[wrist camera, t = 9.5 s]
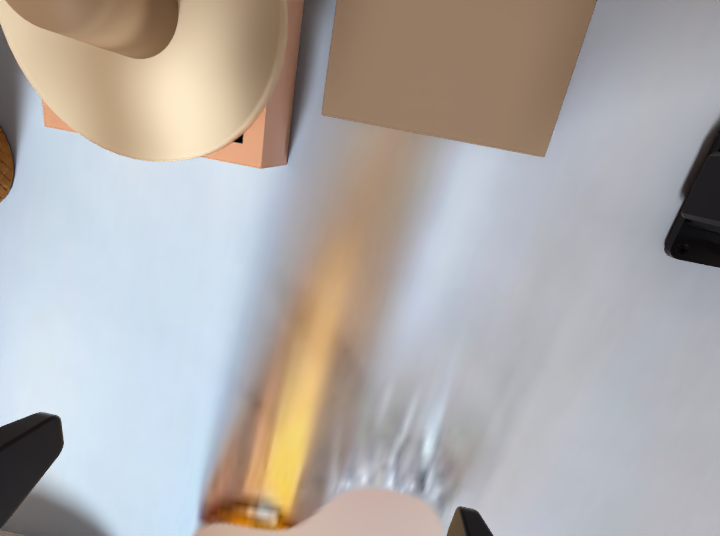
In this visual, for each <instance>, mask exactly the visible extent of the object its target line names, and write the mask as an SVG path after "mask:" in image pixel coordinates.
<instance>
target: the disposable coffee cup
mask: <svg viewBox="0 0 720 536" xmlns="http://www.w3.org/2000/svg"><path fill="white" fill-rule="evenodd" d="M13 171H14V167H13V159H12V154H11V151H10V147H9V144H8V142H7V139H6V137H5V135H4V133H3V131H2V129H1V128H0V202H1V201H2V200H3V199H4V198H5V197H6V195H7V194H8V192H9V190H10V188H11V184H12V180H13Z"/></svg>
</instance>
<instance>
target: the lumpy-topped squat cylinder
mask: <svg viewBox="0 0 720 536" xmlns="http://www.w3.org/2000/svg"><path fill="white" fill-rule="evenodd" d="M0 536H25V535H21V534H17V533H13V532H9V531H4V530H0Z"/></svg>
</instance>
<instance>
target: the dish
mask: <svg viewBox="0 0 720 536" xmlns="http://www.w3.org/2000/svg"><path fill="white" fill-rule="evenodd" d="M303 8H304V0H287V10H288V32H287V44H286V51H285V57H284V62H283V66H282V69H281V73H280V76H279V80H278V82H277V84H276V87H275V89H274V92H273V94H272V96H271V98H270V100H269V102H268V103H267V105H266V107H265V108H264V110H263V112H262V113H261V114H260V116H259V117H258V118H257V120H256V121H255V122H254V123H253V125H252V126H251V127H250V128H249V129H248V130H247V131H246V132H245V133H244V134H243V135H241V136H240V137H239V138H238V139H236V140H235V141H234V142H232V143H231V144H229V145H228V146H226V147H224V148H222V149H220V150H218V151H216V152H214V153H212V154H209V155H205V156H202V157H204V158H209V159H214V160H219V161H224V162H229V163H234V164H239V165H245V166H250V167H255V168H260V169H262V168H268V167H275V166H281V165H287V155H288V146H289V137H290V128H291V119H292V109H293V100H294V91H295V82H296V72H297V63H298V54H299V45H300V35H301V26H302V17H303ZM42 104H43V114H44V123H45V126H46V127H51V128H56V129H61V130H66V131H71V132H76V131H75V130H73V129H72V128H71V127H70V126H68V125H67V124H66V123H65V122H64V121H63V120H62V119H61V118H59V117H58V116H57V115H56V114H55V113H54V112H53V111H52V109H51V108H50V107H49V106H48V105H47V104H46V103H45V102H44V101H43V100H42ZM76 133H78V132H76Z"/></svg>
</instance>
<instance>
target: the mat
mask: <svg viewBox="0 0 720 536" xmlns="http://www.w3.org/2000/svg"><path fill="white" fill-rule="evenodd" d="M596 2H597V0H337V2H336V9H335V17H334V24H333V32H332V39H331V47H330V54H329V62H328V69H327V77H326V84H325V92H324V99H323V107H322V115H324V116H329V117H334V118H340V119H345V120H350V121H356V122H361V123H366V124H371V125H377V126H382V127H387V128H392V129H398V130H403V131H408V132H414V133H419V134H424V135H429V136H435V137H440V138H445V139H450V140H456V141H461V142H466V143H472V144H477V145H482V146H487V147H493V148H498V149H503V150H508V151H514V152H519V153H524V154H530V155H535V156H541V157H545V154H546V151H547V148H548V145H549V142H550V139H551V136H552V133H553V130H554V127H555V124H556V121H557V118H558V115H559V112H560V109H561V106H562V103H563V100H564V97H565V94H566V91H567V88H568V86H569V83H570V80H571V77H572V74H573V71H574V68H575V65H576V62H577V59H578V56H579V53H580V50H581V47H582V44H583V41H584V38H585V35H586V32H587V29H588V26H589V23H590V20H591V17H592V14H593V11H594V8H595V5H596Z"/></svg>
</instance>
